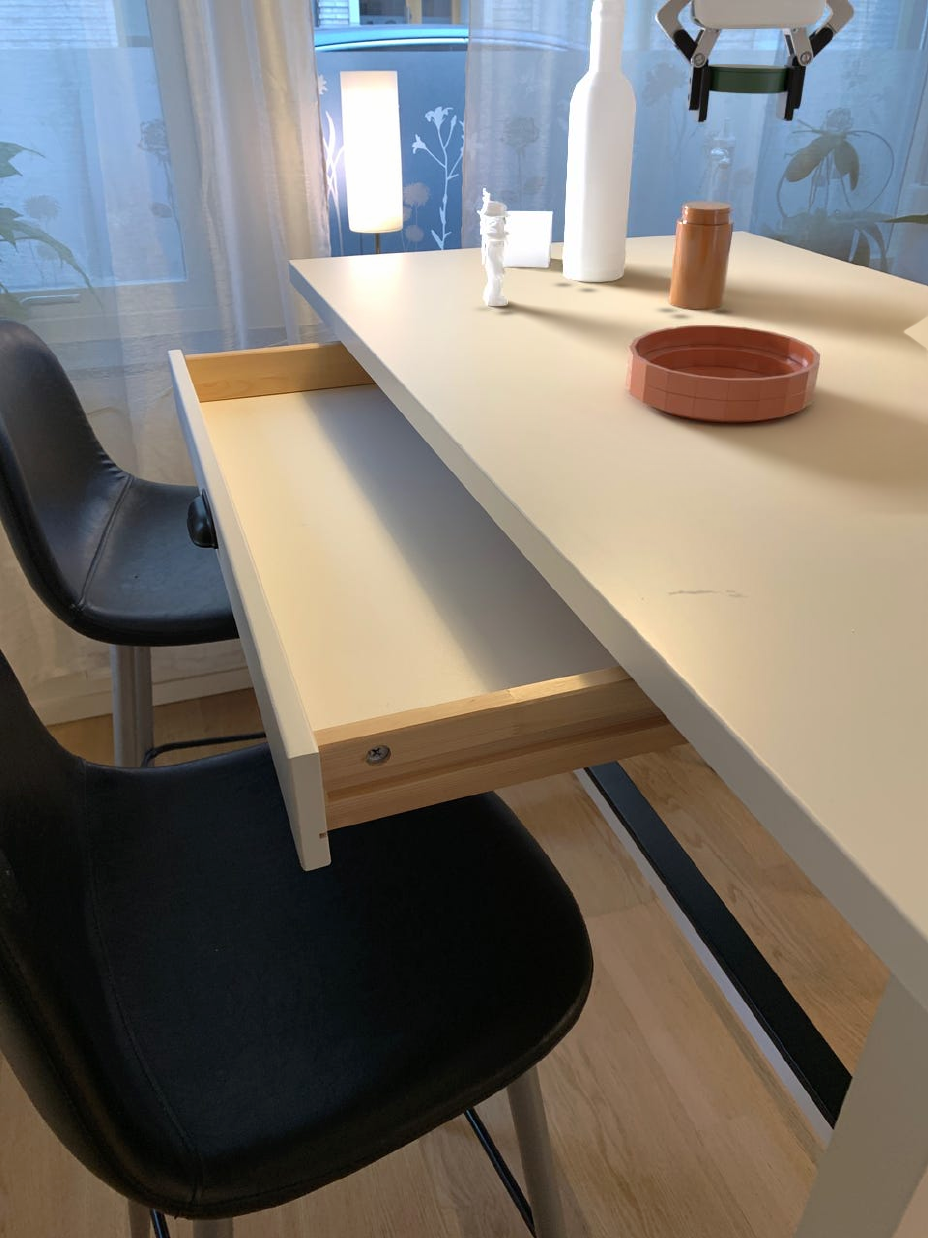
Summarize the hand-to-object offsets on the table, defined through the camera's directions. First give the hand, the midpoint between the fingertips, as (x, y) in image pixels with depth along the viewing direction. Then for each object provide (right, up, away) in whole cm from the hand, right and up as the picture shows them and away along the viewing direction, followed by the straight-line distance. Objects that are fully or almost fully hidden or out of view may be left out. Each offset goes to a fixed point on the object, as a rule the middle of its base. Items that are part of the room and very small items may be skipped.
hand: (741, 117), depth 83 cm
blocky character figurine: (-20, -6, +32) cm, 38 cm away
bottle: (-7, +1, +43) cm, 44 cm away
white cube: (-15, +6, +50) cm, 52 cm away
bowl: (-1, -23, +4) cm, 23 cm away
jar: (+3, -6, +31) cm, 32 cm away
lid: (0, +3, -2) cm, 4 cm away
